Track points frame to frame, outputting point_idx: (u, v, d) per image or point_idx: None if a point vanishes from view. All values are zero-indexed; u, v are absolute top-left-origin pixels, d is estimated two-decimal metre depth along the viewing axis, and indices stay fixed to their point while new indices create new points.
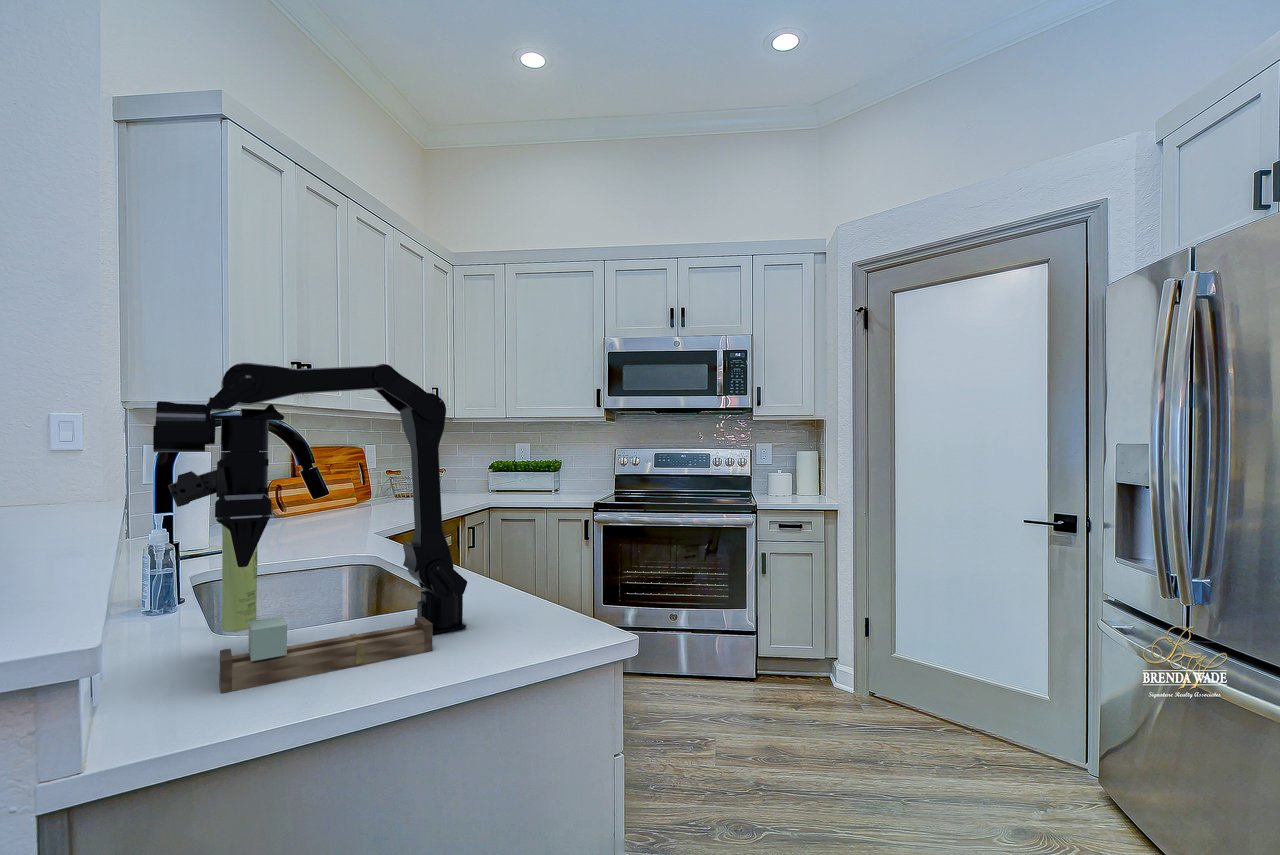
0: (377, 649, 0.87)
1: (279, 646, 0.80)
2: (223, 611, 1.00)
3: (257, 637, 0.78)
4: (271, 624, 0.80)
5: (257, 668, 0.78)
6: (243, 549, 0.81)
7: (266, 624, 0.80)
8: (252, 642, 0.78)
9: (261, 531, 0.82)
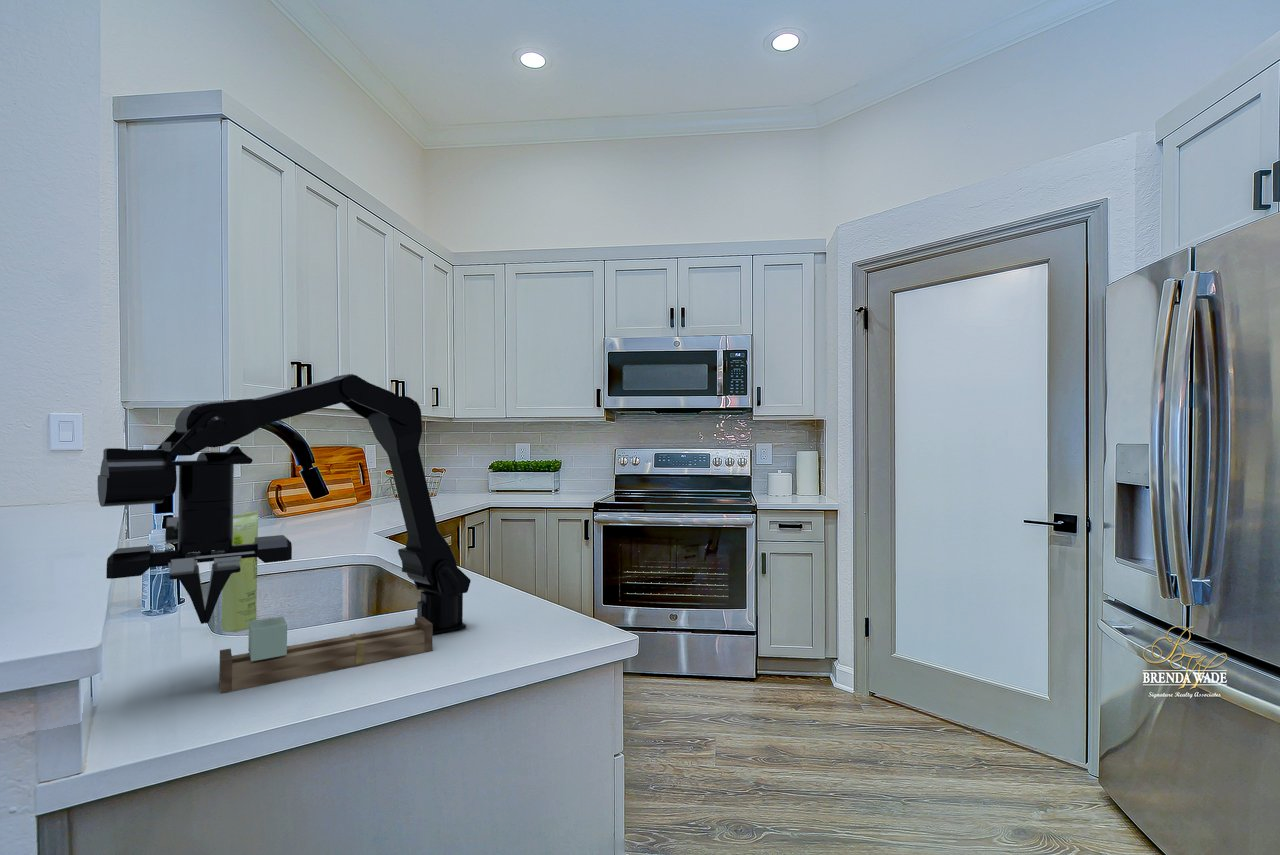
0: (377, 649, 0.87)
1: (279, 646, 0.80)
2: (223, 611, 1.00)
3: (257, 637, 0.78)
4: (271, 624, 0.80)
5: (257, 668, 0.78)
6: None
7: (266, 624, 0.80)
8: (252, 642, 0.78)
9: (186, 589, 0.74)
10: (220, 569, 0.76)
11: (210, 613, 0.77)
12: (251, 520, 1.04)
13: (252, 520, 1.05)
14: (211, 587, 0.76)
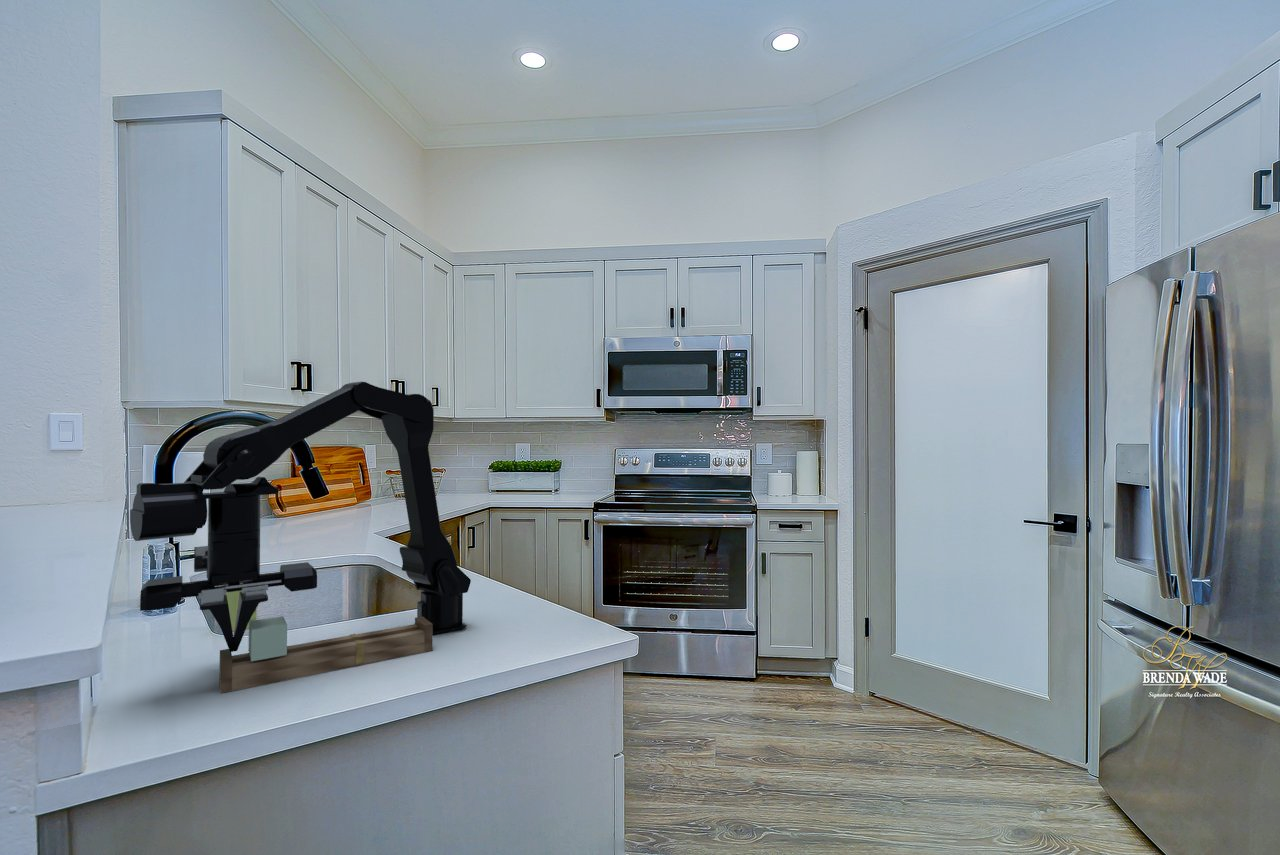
0: (377, 649, 0.87)
1: (279, 646, 0.80)
2: None
3: (258, 637, 0.78)
4: (271, 624, 0.80)
5: (257, 668, 0.78)
6: None
7: (266, 624, 0.80)
8: (252, 642, 0.78)
9: (216, 619, 0.76)
10: (248, 598, 0.78)
11: (239, 641, 0.78)
12: None
13: None
14: (240, 616, 0.77)
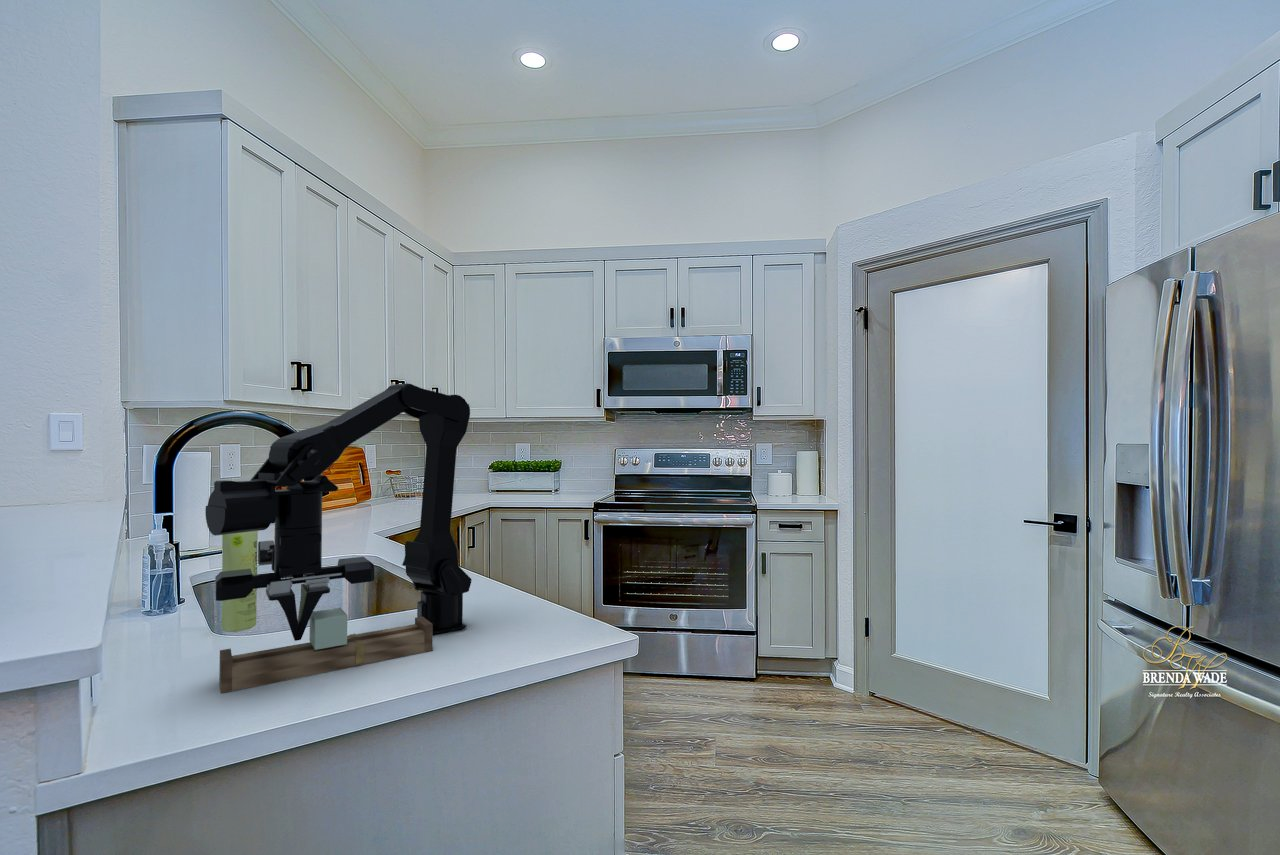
0: (377, 649, 0.87)
1: (340, 635, 0.84)
2: (223, 611, 1.00)
3: (321, 627, 0.83)
4: (332, 615, 0.85)
5: (257, 668, 0.78)
6: (288, 623, 0.82)
7: (327, 615, 0.85)
8: (316, 632, 0.82)
9: (283, 609, 0.80)
10: (312, 590, 0.82)
11: (302, 631, 0.83)
12: None
13: None
14: (304, 607, 0.82)
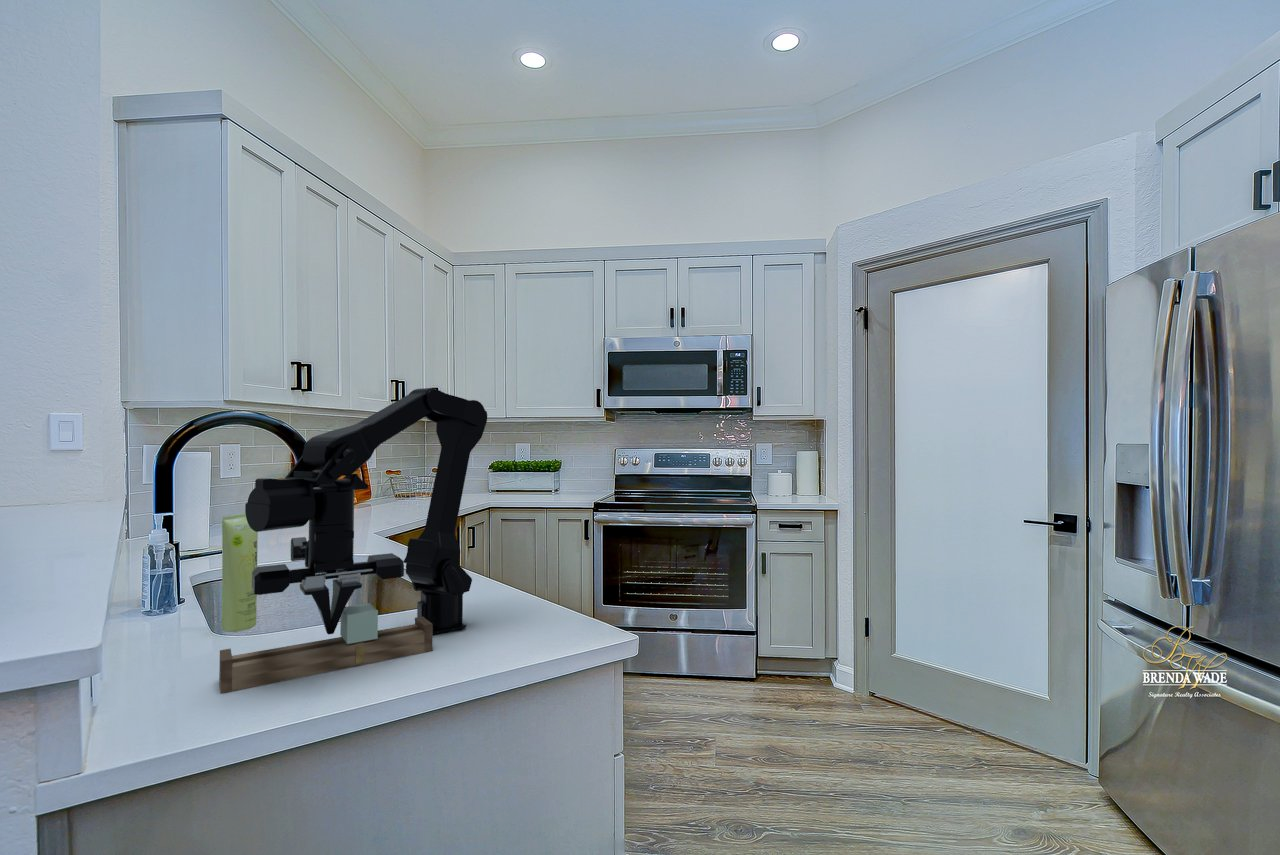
0: (377, 649, 0.87)
1: (370, 630, 0.86)
2: (223, 611, 1.00)
3: (353, 622, 0.85)
4: (363, 610, 0.87)
5: (257, 668, 0.78)
6: (321, 617, 0.85)
7: (358, 610, 0.87)
8: (348, 626, 0.85)
9: (317, 604, 0.83)
10: (345, 585, 0.85)
11: (335, 625, 0.85)
12: None
13: None
14: (338, 601, 0.84)
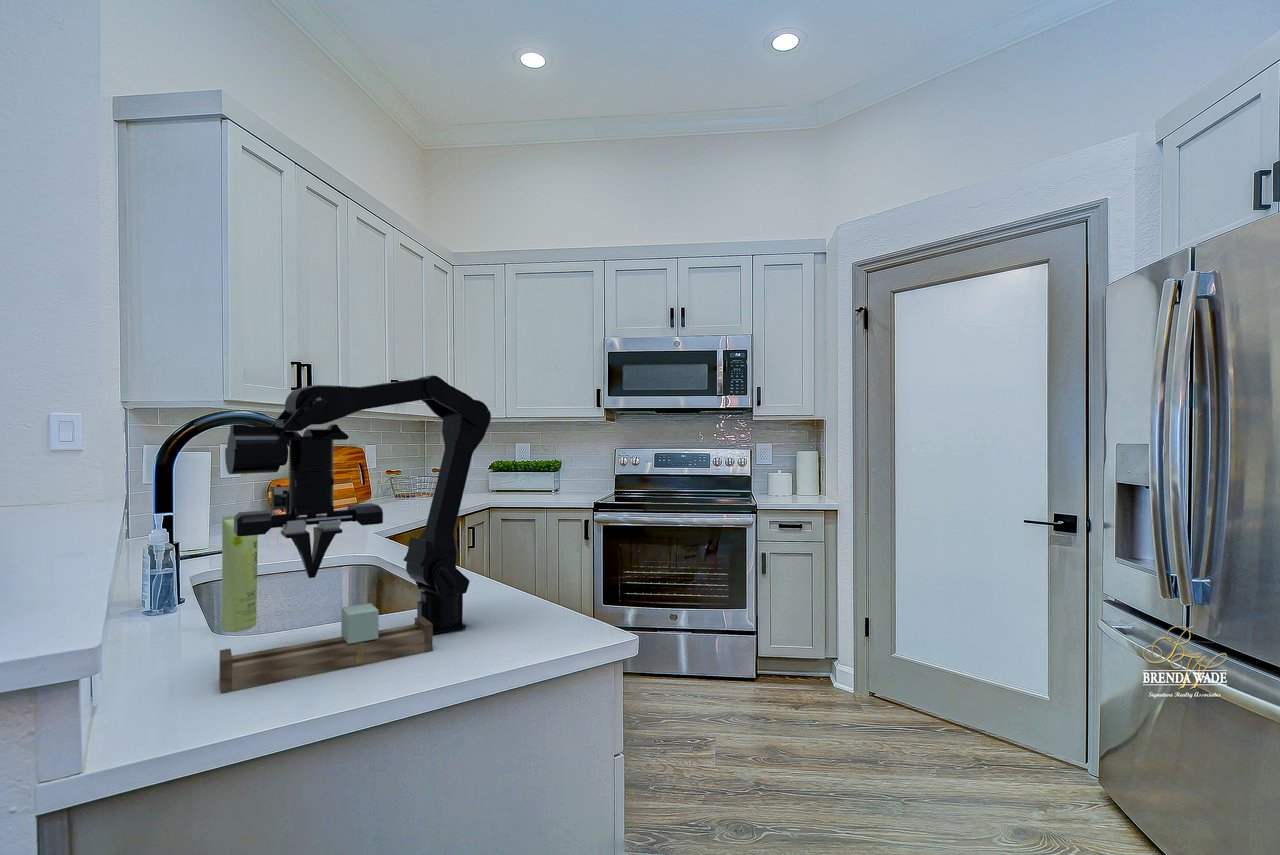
0: (377, 649, 0.87)
1: (371, 630, 0.86)
2: (223, 611, 1.00)
3: (353, 622, 0.85)
4: (364, 610, 0.87)
5: (257, 668, 0.78)
6: (303, 561, 0.88)
7: (359, 610, 0.87)
8: (349, 626, 0.85)
9: (299, 547, 0.86)
10: (326, 530, 0.88)
11: (317, 569, 0.88)
12: None
13: None
14: (319, 546, 0.87)
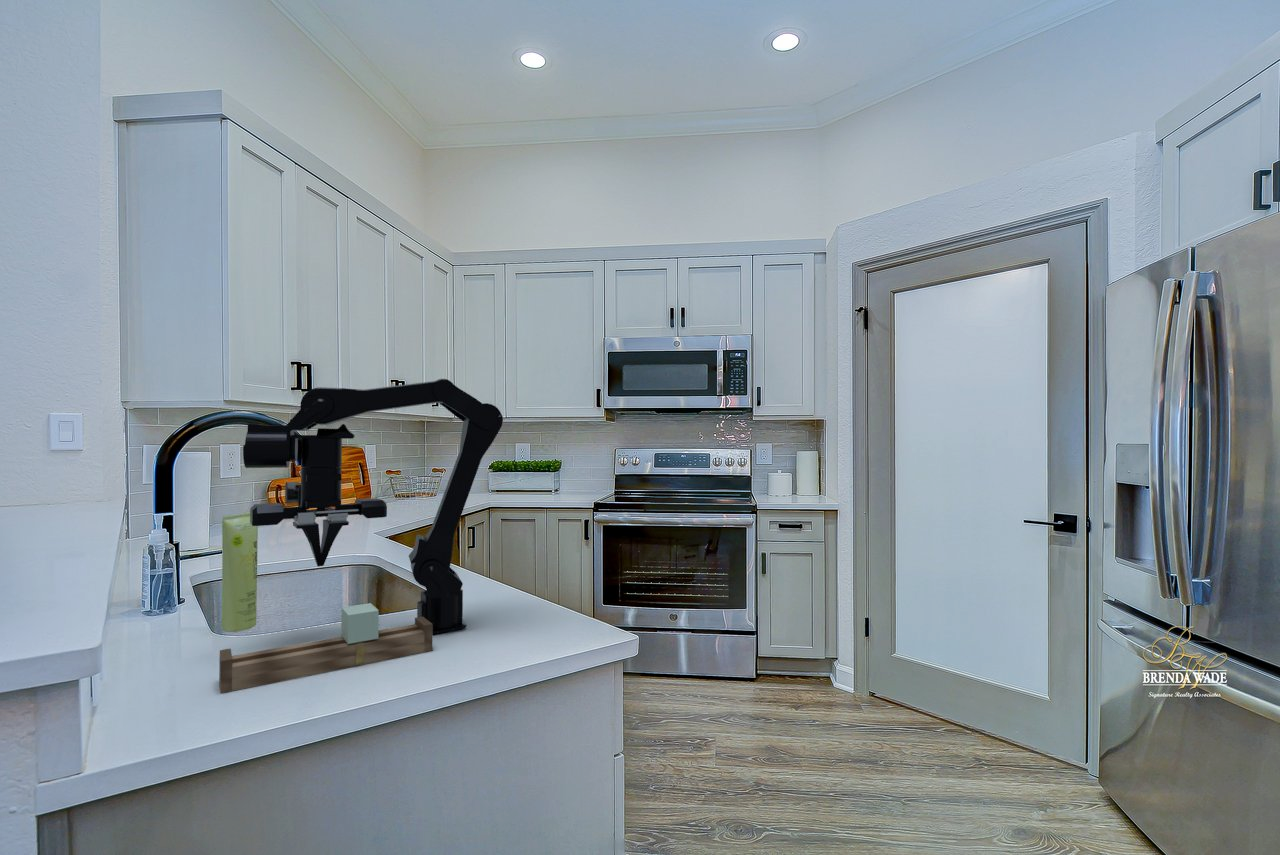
0: (377, 649, 0.87)
1: (371, 630, 0.86)
2: (223, 611, 1.00)
3: (353, 622, 0.85)
4: (364, 610, 0.87)
5: (257, 668, 0.78)
6: (312, 550, 0.95)
7: (359, 610, 0.87)
8: (349, 626, 0.85)
9: (308, 537, 0.93)
10: (333, 522, 0.95)
11: (325, 558, 0.95)
12: None
13: None
14: (327, 536, 0.94)
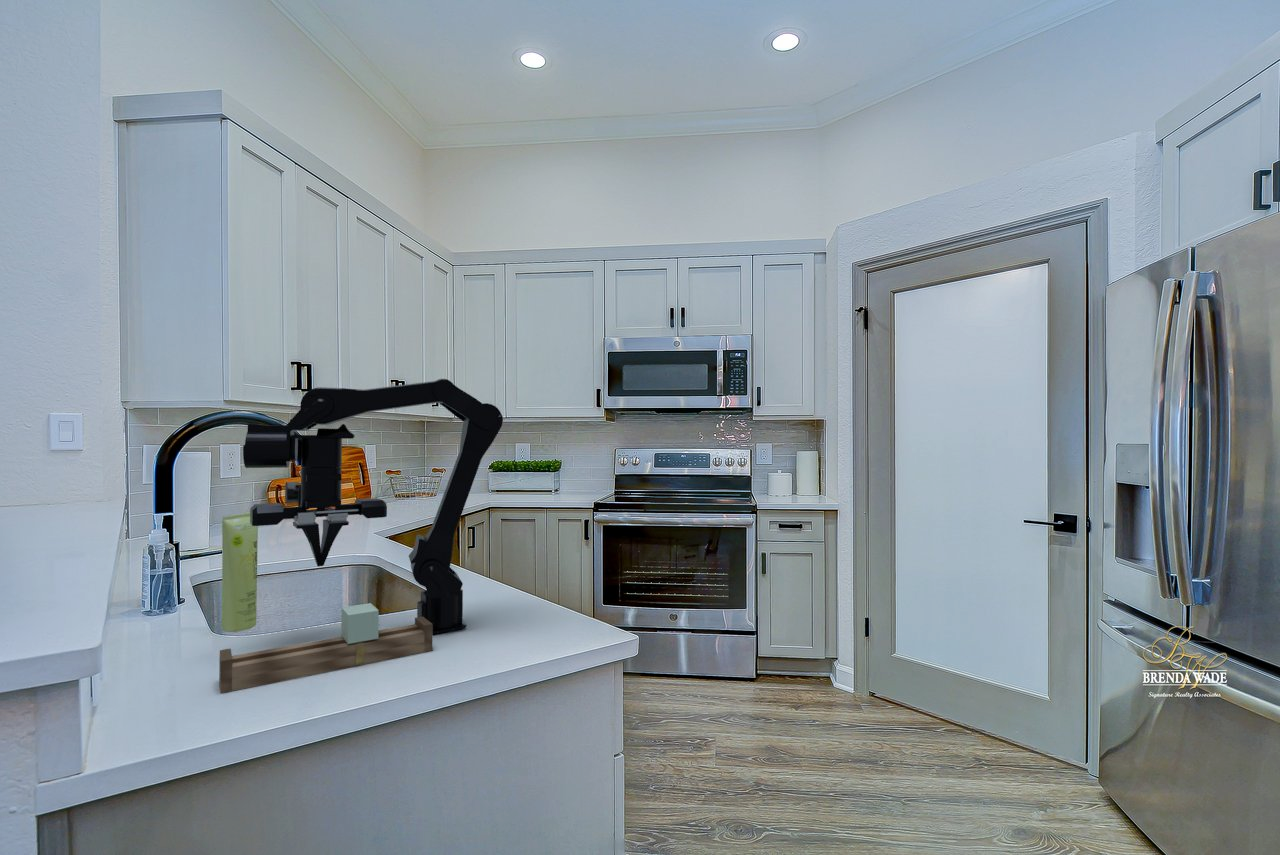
0: (377, 649, 0.87)
1: (371, 630, 0.86)
2: (223, 611, 1.00)
3: (353, 622, 0.85)
4: (364, 610, 0.87)
5: (257, 668, 0.78)
6: (312, 550, 0.95)
7: (359, 610, 0.87)
8: (349, 626, 0.85)
9: (308, 537, 0.93)
10: (333, 522, 0.95)
11: (325, 558, 0.95)
12: None
13: None
14: (327, 536, 0.94)
